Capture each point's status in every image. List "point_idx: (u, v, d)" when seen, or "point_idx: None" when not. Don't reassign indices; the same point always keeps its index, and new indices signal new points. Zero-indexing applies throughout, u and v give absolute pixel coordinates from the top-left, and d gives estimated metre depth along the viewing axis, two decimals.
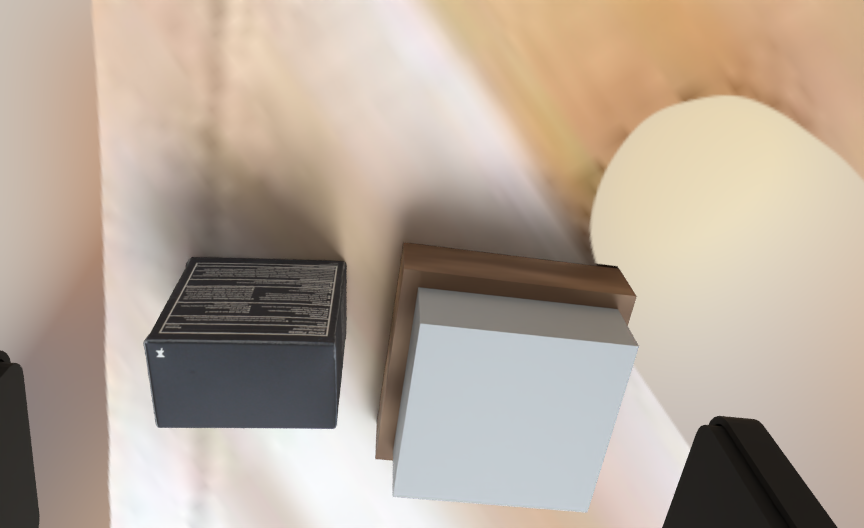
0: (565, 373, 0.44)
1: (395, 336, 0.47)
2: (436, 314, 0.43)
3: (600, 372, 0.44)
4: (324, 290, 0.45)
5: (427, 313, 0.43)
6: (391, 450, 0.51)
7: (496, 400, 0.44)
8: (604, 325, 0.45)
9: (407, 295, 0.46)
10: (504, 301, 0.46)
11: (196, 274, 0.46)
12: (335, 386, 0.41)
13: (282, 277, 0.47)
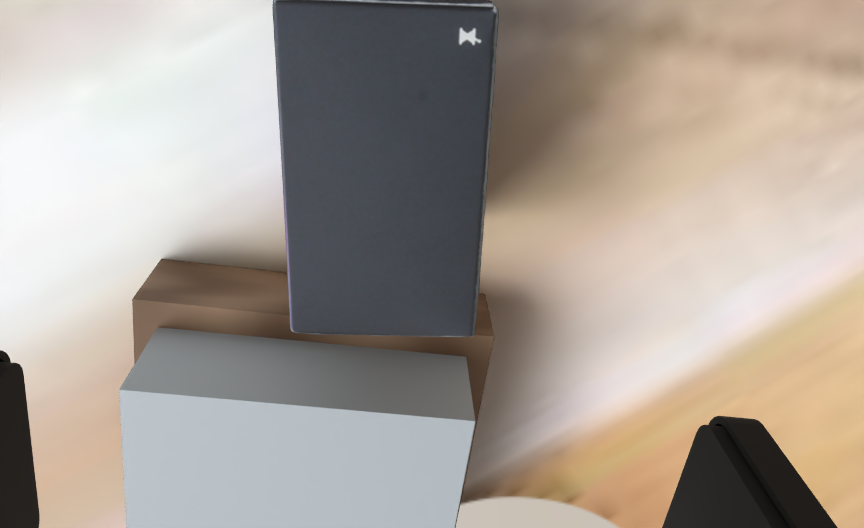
0: None
1: None
2: None
3: None
4: None
5: None
6: (154, 323, 0.30)
7: (337, 518, 0.29)
8: None
9: (450, 341, 0.31)
10: None
11: None
12: (384, 334, 0.24)
13: None
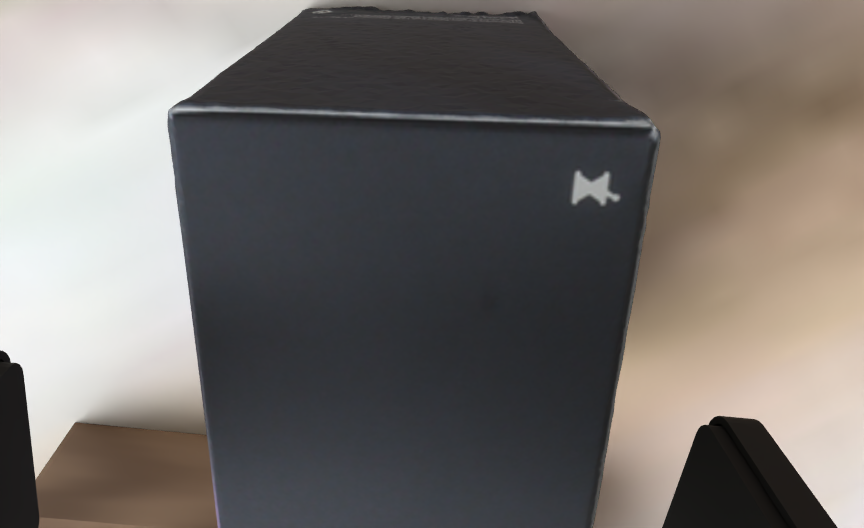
0: None
1: None
2: None
3: None
4: None
5: None
6: None
7: None
8: None
9: None
10: None
11: None
12: None
13: None
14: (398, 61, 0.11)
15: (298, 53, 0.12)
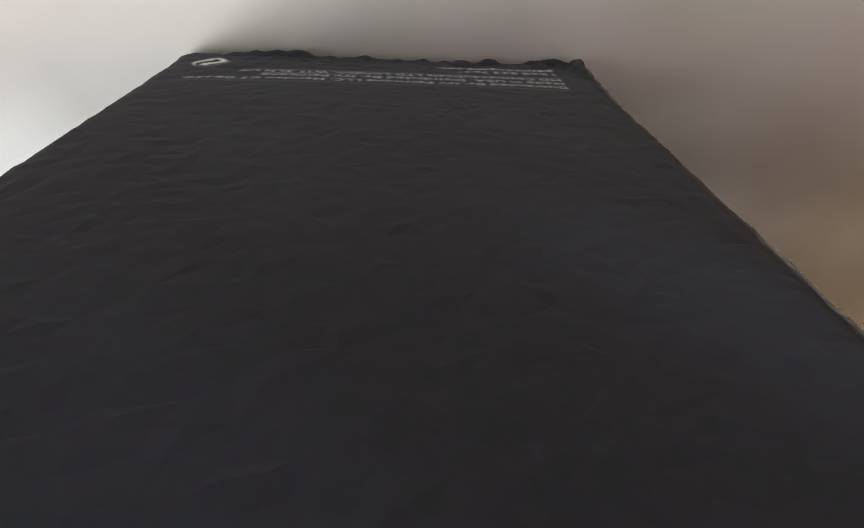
0: None
1: None
2: None
3: None
4: None
5: None
6: None
7: None
8: None
9: None
10: None
11: None
12: None
13: None
14: (296, 281, 0.04)
15: (41, 235, 0.05)
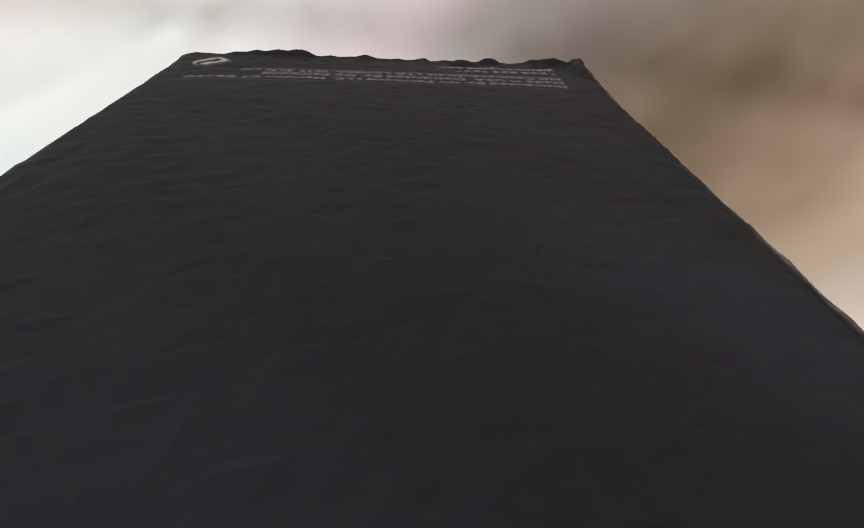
0: None
1: None
2: None
3: None
4: None
5: None
6: None
7: None
8: None
9: None
10: None
11: None
12: None
13: None
14: (297, 278, 0.04)
15: (44, 232, 0.05)
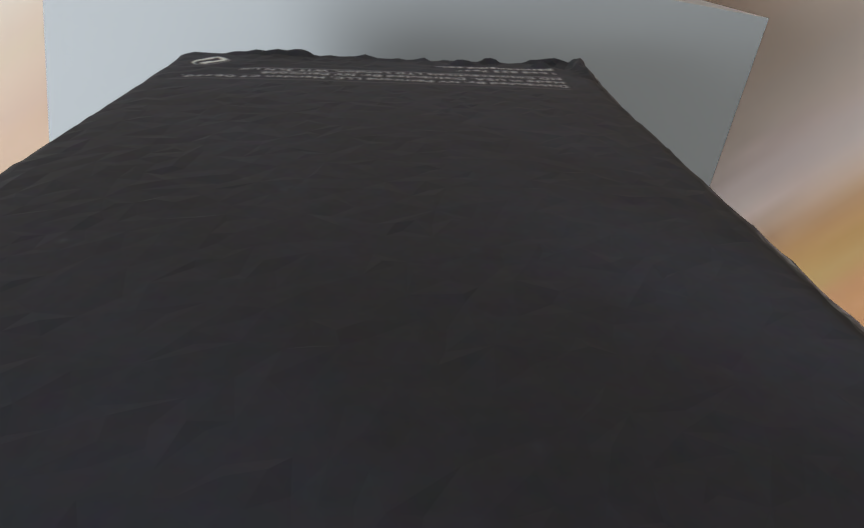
0: None
1: None
2: None
3: None
4: None
5: None
6: None
7: None
8: None
9: None
10: None
11: None
12: None
13: None
14: (297, 278, 0.04)
15: (41, 232, 0.05)
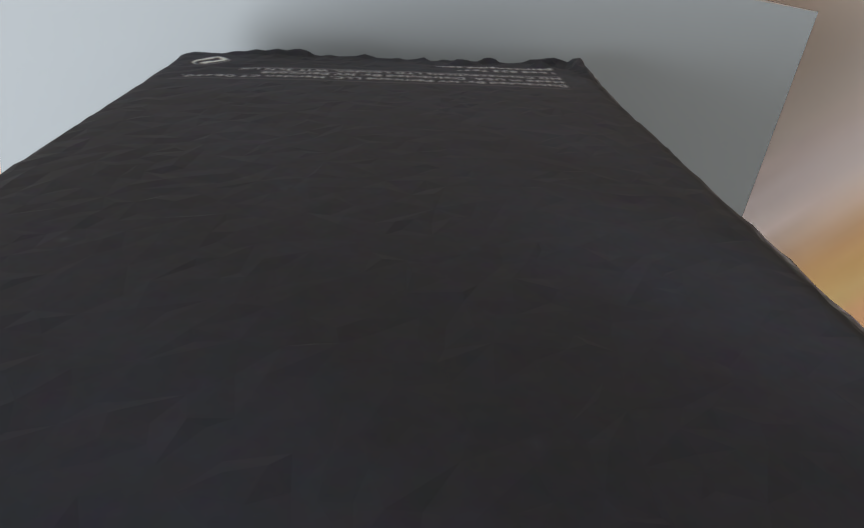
0: None
1: None
2: None
3: None
4: None
5: None
6: None
7: None
8: None
9: None
10: None
11: None
12: None
13: None
14: (297, 277, 0.04)
15: (42, 231, 0.05)
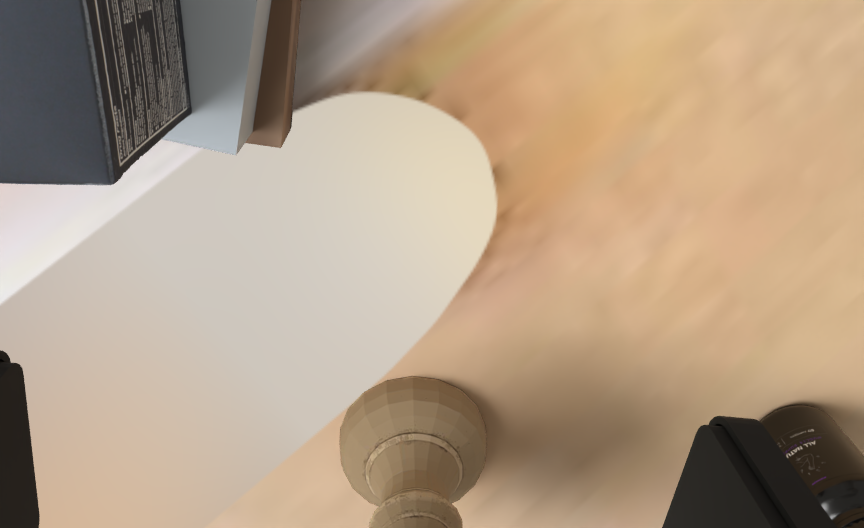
0: (197, 67, 0.35)
1: None
2: None
3: (198, 111, 0.36)
4: (162, 115, 0.31)
5: None
6: None
7: None
8: (248, 115, 0.38)
9: None
10: None
11: None
12: (33, 182, 0.26)
13: (167, 42, 0.32)
14: None
15: None
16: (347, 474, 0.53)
